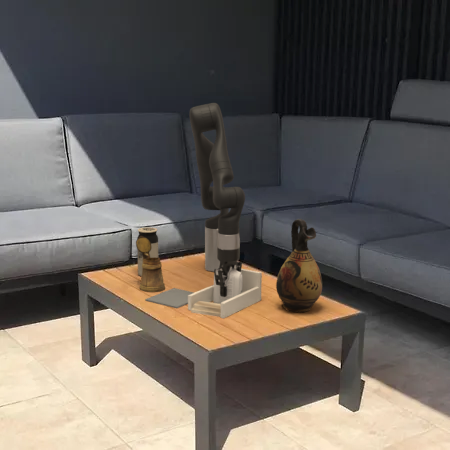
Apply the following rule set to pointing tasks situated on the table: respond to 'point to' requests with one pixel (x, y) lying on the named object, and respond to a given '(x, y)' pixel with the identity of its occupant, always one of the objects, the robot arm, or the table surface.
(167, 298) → the mat
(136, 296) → the table surface
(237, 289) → the photo printer
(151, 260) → the wooden mug
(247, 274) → the rack
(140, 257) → the travel mug
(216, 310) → the offcut stack
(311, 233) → the ceramic jug
